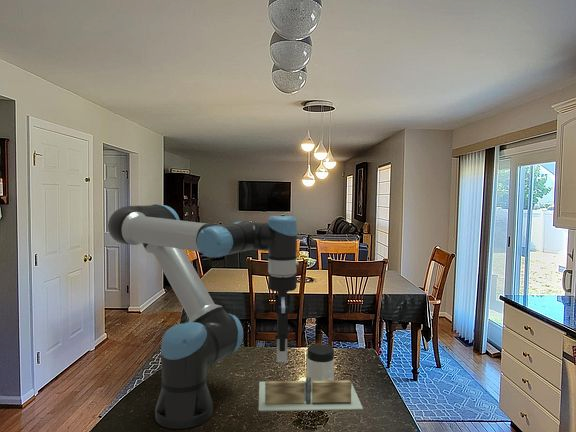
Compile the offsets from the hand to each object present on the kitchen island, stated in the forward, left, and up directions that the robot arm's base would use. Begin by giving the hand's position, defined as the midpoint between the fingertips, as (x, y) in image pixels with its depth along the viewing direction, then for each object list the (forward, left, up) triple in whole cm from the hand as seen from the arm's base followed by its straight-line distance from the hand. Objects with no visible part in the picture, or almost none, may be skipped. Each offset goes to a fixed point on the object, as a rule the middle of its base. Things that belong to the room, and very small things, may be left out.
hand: (281, 360), depth 113 cm
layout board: (+8, +10, -15) cm, 20 cm away
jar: (+12, +15, -15) cm, 24 cm away
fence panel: (+1, +5, -14) cm, 15 cm away
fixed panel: (+15, +5, -15) cm, 21 cm away
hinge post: (+8, +5, -15) cm, 18 cm away
